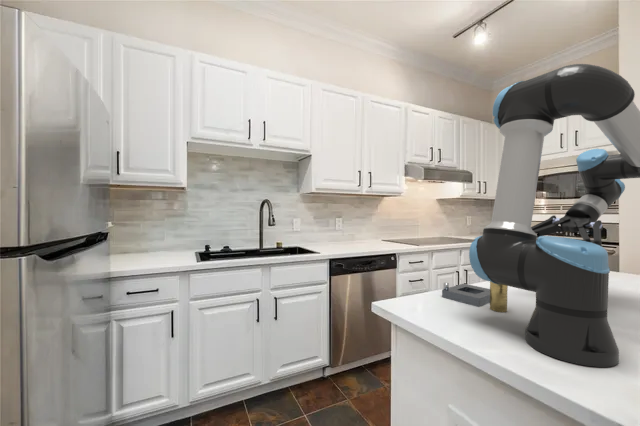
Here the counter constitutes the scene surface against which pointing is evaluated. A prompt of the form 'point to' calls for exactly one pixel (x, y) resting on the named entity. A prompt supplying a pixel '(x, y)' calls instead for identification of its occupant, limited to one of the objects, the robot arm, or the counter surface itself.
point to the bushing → (498, 297)
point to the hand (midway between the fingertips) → (545, 252)
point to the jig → (467, 294)
